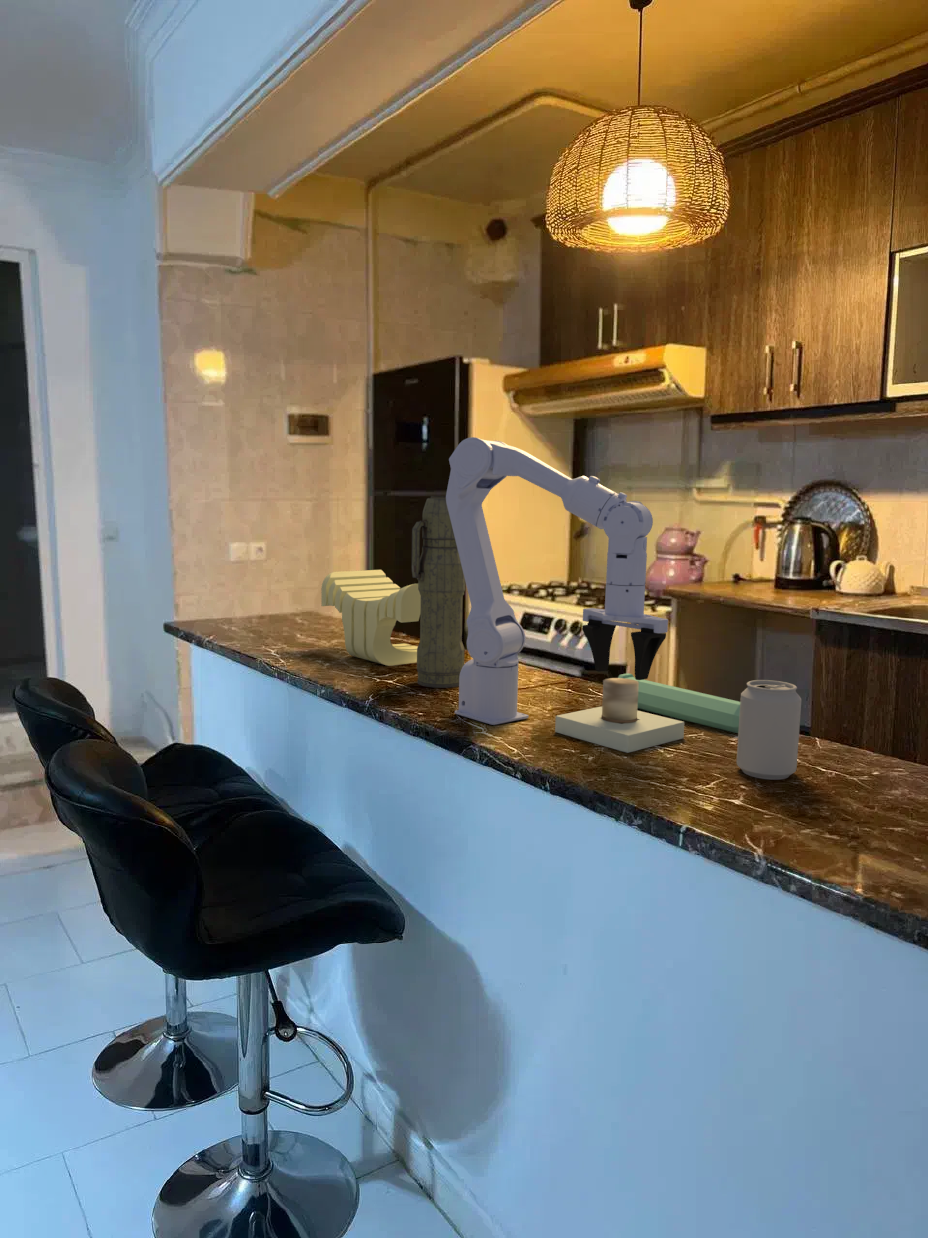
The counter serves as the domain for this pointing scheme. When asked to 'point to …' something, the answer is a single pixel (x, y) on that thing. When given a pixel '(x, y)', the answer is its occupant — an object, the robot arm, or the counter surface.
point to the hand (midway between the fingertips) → (621, 674)
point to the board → (620, 729)
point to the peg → (620, 700)
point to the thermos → (438, 597)
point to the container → (687, 705)
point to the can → (769, 729)
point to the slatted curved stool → (372, 613)
